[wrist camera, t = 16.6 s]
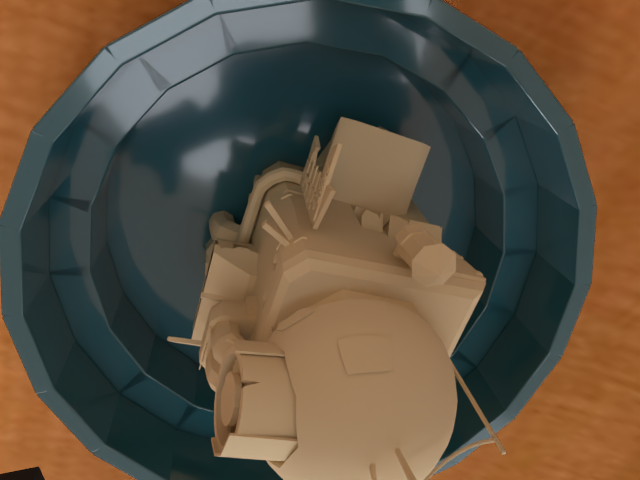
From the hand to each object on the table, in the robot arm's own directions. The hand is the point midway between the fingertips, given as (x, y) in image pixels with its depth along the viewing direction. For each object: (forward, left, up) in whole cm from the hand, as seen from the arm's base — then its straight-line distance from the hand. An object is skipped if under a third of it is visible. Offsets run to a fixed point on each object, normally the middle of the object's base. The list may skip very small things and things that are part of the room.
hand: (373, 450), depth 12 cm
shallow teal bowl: (0, 0, -13) cm, 13 cm away
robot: (0, 0, -12) cm, 12 cm away
